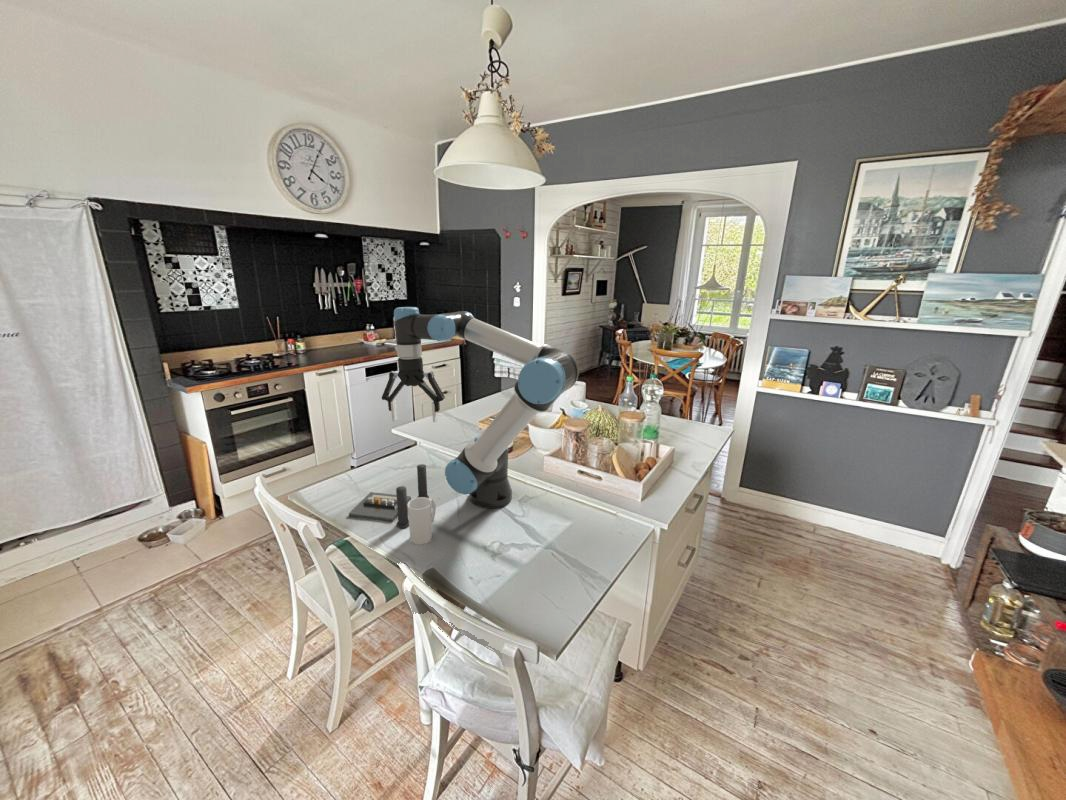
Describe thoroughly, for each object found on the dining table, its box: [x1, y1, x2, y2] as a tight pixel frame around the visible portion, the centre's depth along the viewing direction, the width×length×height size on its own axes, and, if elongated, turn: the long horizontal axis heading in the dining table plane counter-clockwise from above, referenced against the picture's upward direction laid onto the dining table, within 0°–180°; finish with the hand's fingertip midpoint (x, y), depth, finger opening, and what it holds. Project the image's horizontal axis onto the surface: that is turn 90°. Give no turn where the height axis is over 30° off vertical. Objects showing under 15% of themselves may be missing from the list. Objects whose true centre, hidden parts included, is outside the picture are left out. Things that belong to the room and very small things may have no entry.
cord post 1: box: [395, 485, 409, 529], centre depth 131 cm, size 4×4×13 cm
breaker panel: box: [348, 491, 412, 523], centre depth 142 cm, size 15×14×3 cm
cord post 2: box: [416, 463, 430, 499], centre depth 146 cm, size 4×4×13 cm
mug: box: [407, 497, 437, 545], centre depth 126 cm, size 10×7×12 cm, turn 152°
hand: (415, 420), depth 139 cm, fingers open, 13 cm apart
